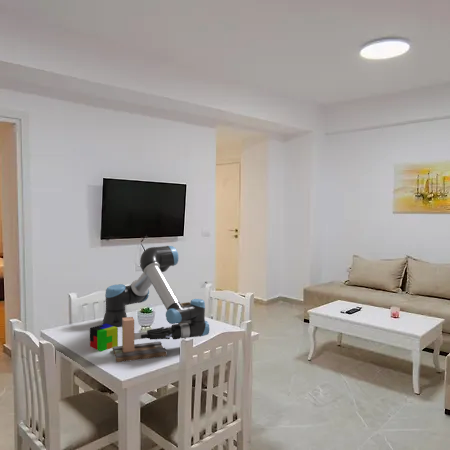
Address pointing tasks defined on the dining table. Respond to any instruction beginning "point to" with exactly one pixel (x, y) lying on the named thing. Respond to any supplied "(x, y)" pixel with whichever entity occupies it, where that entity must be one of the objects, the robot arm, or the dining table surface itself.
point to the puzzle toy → (103, 337)
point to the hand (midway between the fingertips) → (134, 336)
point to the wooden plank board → (140, 352)
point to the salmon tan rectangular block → (128, 334)
